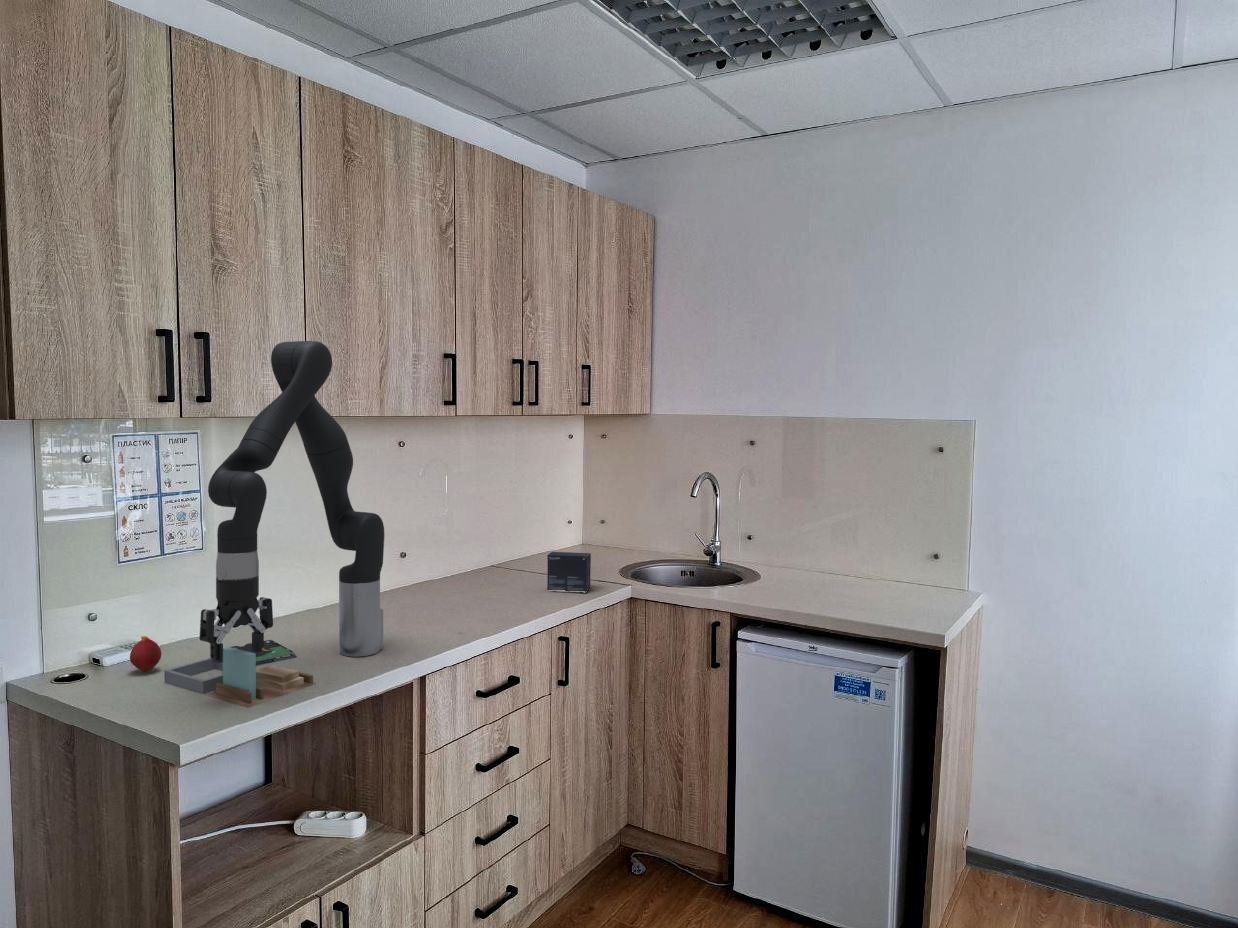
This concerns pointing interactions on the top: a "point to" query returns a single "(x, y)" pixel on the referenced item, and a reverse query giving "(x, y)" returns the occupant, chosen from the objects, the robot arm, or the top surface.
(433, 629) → the top surface
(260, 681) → the offcut lower
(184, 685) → the tray
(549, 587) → the small box
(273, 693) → the rack
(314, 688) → the top surface
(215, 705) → the top surface
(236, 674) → the teal rectangular slab
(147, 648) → the onion
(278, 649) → the disk drive
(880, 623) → the top surface
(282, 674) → the offcut upper
